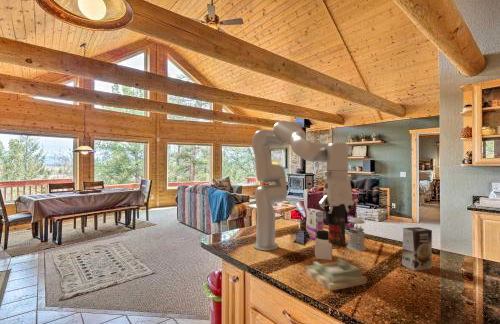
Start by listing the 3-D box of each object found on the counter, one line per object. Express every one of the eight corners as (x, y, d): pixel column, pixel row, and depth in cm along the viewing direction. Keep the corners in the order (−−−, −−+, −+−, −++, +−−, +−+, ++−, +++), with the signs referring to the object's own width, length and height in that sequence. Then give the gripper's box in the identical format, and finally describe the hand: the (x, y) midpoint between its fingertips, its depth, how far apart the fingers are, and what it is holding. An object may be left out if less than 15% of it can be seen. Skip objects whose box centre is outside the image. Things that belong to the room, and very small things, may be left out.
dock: (304, 271, 101) (304, 258, 101) (337, 266, 107) (337, 254, 107) (330, 290, 86) (330, 276, 86) (366, 283, 92) (366, 269, 92)
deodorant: (325, 240, 98) (326, 201, 98) (340, 240, 98) (341, 201, 99) (332, 245, 92) (332, 204, 92) (347, 245, 93) (348, 204, 93)
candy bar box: (323, 240, 142) (324, 211, 142) (316, 241, 140) (316, 211, 140) (313, 235, 152) (313, 208, 152) (305, 235, 151) (306, 208, 151)
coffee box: (415, 271, 103) (415, 231, 103) (401, 265, 109) (402, 227, 109) (432, 269, 105) (432, 230, 105) (418, 263, 112) (418, 226, 112)
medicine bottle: (332, 260, 113) (332, 233, 113) (315, 259, 114) (316, 232, 114) (330, 254, 120) (330, 229, 120) (314, 253, 121) (315, 228, 121)
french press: (362, 244, 135) (363, 198, 136) (370, 252, 124) (371, 201, 124) (343, 244, 136) (344, 197, 136) (349, 251, 125) (350, 200, 125)
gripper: (324, 175, 89) (323, 227, 89) (362, 175, 95) (362, 223, 95) (311, 174, 96) (311, 222, 96) (348, 174, 102) (348, 219, 102)
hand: (336, 222), depth 95 cm, fingers closed on deodorant, 6 cm apart
